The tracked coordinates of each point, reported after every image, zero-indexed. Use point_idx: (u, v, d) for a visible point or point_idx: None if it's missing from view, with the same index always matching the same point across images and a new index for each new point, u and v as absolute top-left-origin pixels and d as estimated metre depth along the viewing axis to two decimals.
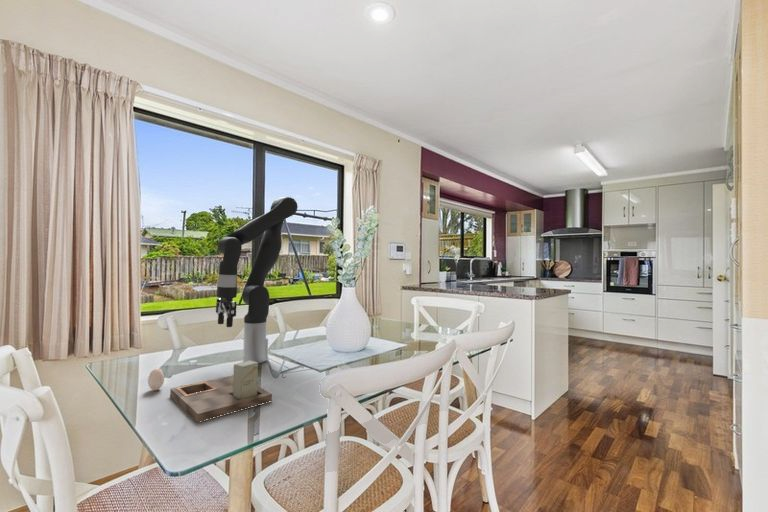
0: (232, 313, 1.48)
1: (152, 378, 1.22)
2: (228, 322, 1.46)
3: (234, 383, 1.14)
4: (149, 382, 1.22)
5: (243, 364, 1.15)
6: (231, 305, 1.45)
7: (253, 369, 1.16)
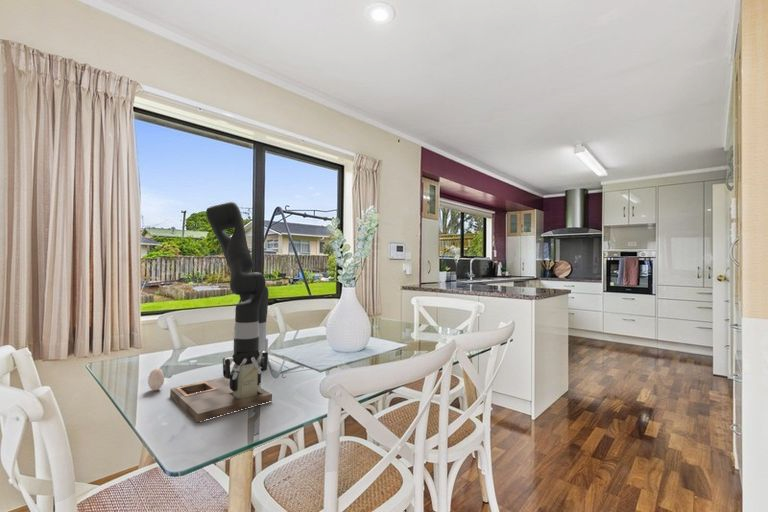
0: None
1: (152, 378, 1.22)
2: (259, 379, 1.19)
3: None
4: (149, 382, 1.22)
5: None
6: None
7: (253, 369, 1.16)
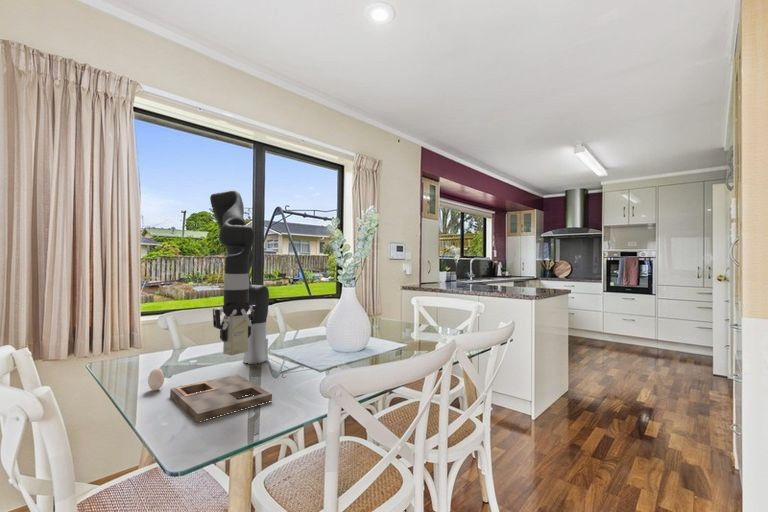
0: None
1: (152, 378, 1.22)
2: (249, 331, 1.20)
3: None
4: (149, 382, 1.22)
5: None
6: None
7: (243, 321, 1.17)
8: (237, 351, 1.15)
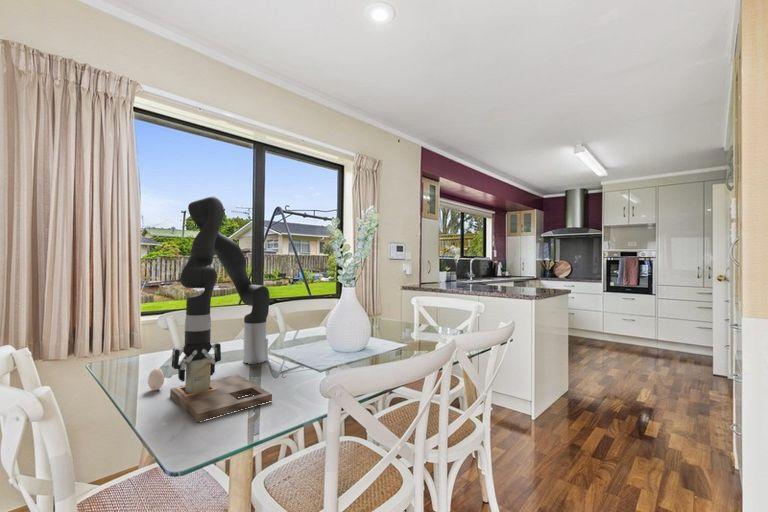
0: None
1: (151, 378, 1.22)
2: (213, 369, 1.22)
3: (186, 378, 1.18)
4: (149, 382, 1.22)
5: (195, 360, 1.18)
6: None
7: (205, 365, 1.19)
8: None
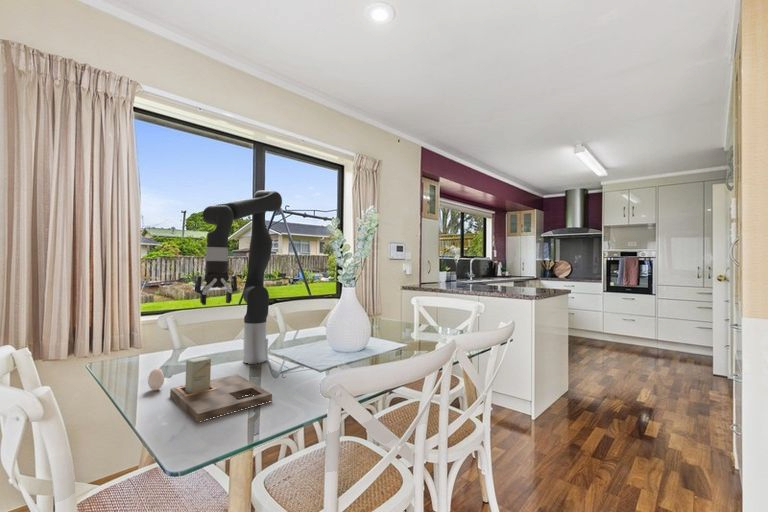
0: None
1: (152, 378, 1.22)
2: (230, 297, 1.38)
3: (186, 378, 1.18)
4: (149, 382, 1.22)
5: (195, 360, 1.18)
6: None
7: (205, 365, 1.19)
8: None
